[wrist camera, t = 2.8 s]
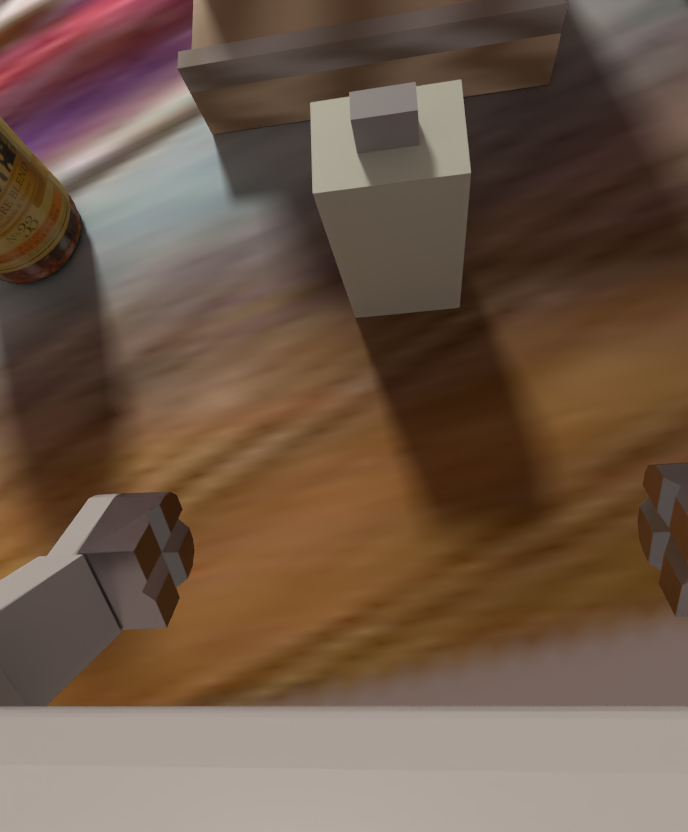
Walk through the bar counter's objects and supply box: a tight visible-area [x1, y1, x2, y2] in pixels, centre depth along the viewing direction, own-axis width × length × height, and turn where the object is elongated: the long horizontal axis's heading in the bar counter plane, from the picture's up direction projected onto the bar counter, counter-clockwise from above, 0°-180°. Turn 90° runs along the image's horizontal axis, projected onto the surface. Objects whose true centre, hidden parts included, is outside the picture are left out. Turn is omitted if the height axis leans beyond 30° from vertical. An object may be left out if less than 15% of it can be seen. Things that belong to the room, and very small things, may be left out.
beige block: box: [310, 79, 471, 318], centre depth 23 cm, size 5×4×12 cm
